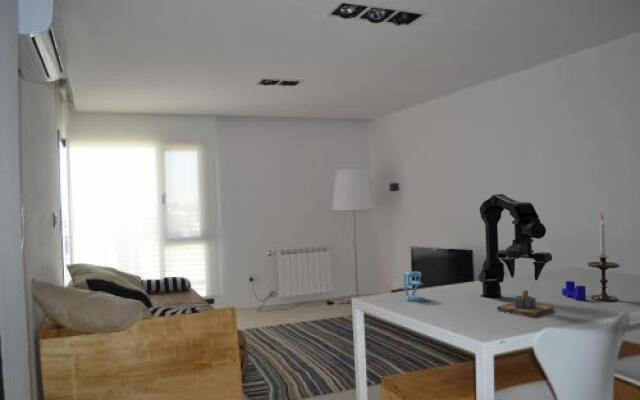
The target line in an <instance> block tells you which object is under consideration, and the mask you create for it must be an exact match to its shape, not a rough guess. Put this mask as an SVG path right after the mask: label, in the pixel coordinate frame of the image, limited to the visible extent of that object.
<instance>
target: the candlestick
mask: <svg viewBox="0 0 640 400" xmlns="http://www.w3.org/2000/svg"><path fill="white" fill-rule="evenodd" d="M600 219H601V220H600V221H601V222H600V223H599V254H600V256H598V258H599V261H590V262H587V267H591V268H597V269H599V271H600V270H601V279H599V283H600V284H601V286H600V288H601V293H600V294H594V295H590V297H591V298H590V299H591V300H592V301H596V302H601V303H602V302H603V303H604V302H606V303H614V302H618V297H617V296H613V295H608V293H607V288H608V286H607V284H608V279H606V271H607V270H609V269H617V268H620V264H619V263H617V262H611V261H607V258H609V256H606V255H607V254H606V252H607V251H606V249H607V248H606V223H604V215H603V212H601V214H600Z"/></svg>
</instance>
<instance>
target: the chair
mask: <svg viewBox="0 0 640 400" xmlns="http://www.w3.org/2000/svg"><path fill="white" fill-rule="evenodd" d="M413 277H414V280H411V279H410V278H413ZM417 277H418V280H417ZM403 278H404V279H403V281H402V284H403V288H404V292H405V298H406V302H419V301H420V302H421V301H425V300H426V299H425V297H423V296H419V295H416V292H417V289H418V287H419V286H423V282H421V278H422V273H421V271H411V272H409V271H406V272H403ZM411 286H414V289H413V291H412V293H411V298H409V293H408V292H409V291H408V288H407V287H411Z"/></svg>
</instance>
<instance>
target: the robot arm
mask: <svg viewBox="0 0 640 400" xmlns="http://www.w3.org/2000/svg"><path fill="white" fill-rule="evenodd" d="M504 210H506V211H509V215H510V216H511V217H512V218H513V219H514V220H512V222H511V224H512V225H514V239H512V244H511V245H509V246H508V247H507V248H505V249H499V235H498V233H499V232H498V231H499V230H498V229H499V228H498V225H499V222H500V221H501V218H502V213H503V212H504ZM479 214H480V218H481V220H482V221H483V223H484V226H485V227H484V228H485V230H484V231H485V253H486V255H485V256H486V258H485V260H484V261H483V263H482V269H481V271H480V273H479V275H478V280H479V282H480V283H481V284H482V294H480V296H481V297H484V298H491V299H497V298H500V297H503V295H502V293H501V292H502V287H501V283H504V279H505V268H504V267H505V265H506V267H507V270H508V273H509V275H510V277H511V278H514V277H515V270H516V268H515V267H516V259H521V258H522V259H531V260H532V259H533V260H534V261H533V262H532V264H533V266H534V280H535V281H538V280H539V277H540V276H541V273H542V271H543V269H544V268H545V266H546V264H549V262H551V261H553V255H552V254H551V252H545V251H540V252H535V251H534V250H533V249H532V248H533V246H532V245H533V243H534V239H539V240H540V239H542V238H544V237H545V236H546V233H547V228H546V227H545V225H544V224H543V223H542V222H541V219H540V217H539V214H538V212H537V211H536V209H535V206H534V205H533V204H532V202H529V201H528V202H527V201H518V200H515V199H514V198H511V197H509V196H507V195H506V194H504V193H499V194H498V193H497V194H495V193H494V194H493V195H491V196H490V197H489V198H487V199H486V200H484V201H483V202H482V203H481V205H480V207H479ZM504 264H505V265H504Z"/></svg>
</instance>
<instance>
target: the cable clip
mask: <svg viewBox="0 0 640 400" xmlns="http://www.w3.org/2000/svg"><path fill="white" fill-rule="evenodd" d="M561 293H562V296H563V295H564V297H565V296H566V298H568V299H570V298H571V299H573V300H575V301H577V302H586V300H587V299H586V298H587V297H586V286H585V285H576V283H575V281H573V280H566V281H565V287H563V288H561Z"/></svg>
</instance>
